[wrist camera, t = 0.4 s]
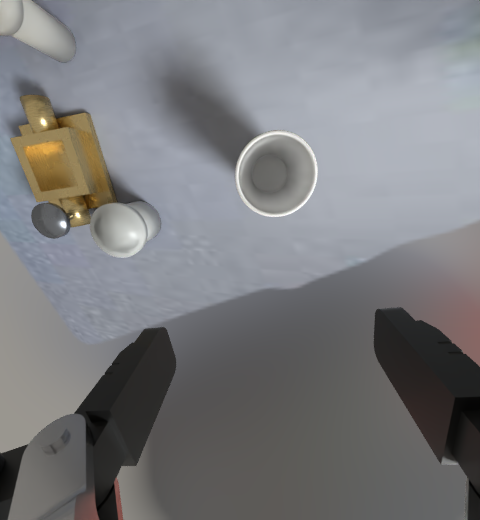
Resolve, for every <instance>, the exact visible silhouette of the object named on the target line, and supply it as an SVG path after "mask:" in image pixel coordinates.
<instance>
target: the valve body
mask: <svg viewBox="0 0 480 520" xmlns="http://www.w3.org/2000/svg"><path fill="white" fill-rule="evenodd" d="M20 101H21V104H22V106H23V109H24V111H25V114H26V116H27V119H28V122H29V124H27V125H22V126H19V129H20V131H21V134H22V136H19V137H14V138H10V139H11V141H12V144H13V146H14V149H15V151H16V153H17V156H18V158H19V161H20V163H21V165H22V168H23V170H24V172H25V175H26V177H27V180H28V182H29V184H30V187H31V189H32V192H33V194H34V196H35V199H36V201H37V202H42V201H49V203H43V204H38V205H37V206H35V207H34V209H33V210H32V215H31V217H32V222H33V224H34V226H35V228H36V229H37V230H38V231H39V232H40V233H41V234H42V235H44V236H46V237H48V238H59V237H62V236H64V235H66V234H67V233H68V232H69V230H70V227H77V226H82V225H86V224H90V220H91V216H90V213H89V210H88V209H90V208H97V207H100V206H102V205H105V204H110V203H117V200H116V196H115V193H114V190H113V187H112V183H111V180H110V177H109V174H108V171H107V167H106V164H105V161H104V158H103V154H102V151H101V148H100V145H99V141H98V138H97V135H96V132H95V129H94V125H93V122H92V119H91V116H90V114H88V113H81V114H76V115H71V116H66V117H61V118H56V117H55V114H54V111H53V108H52V106H51V103H50V100H49V98H47V97H45V96H40V95H24V96H21V97H20Z"/></svg>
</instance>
